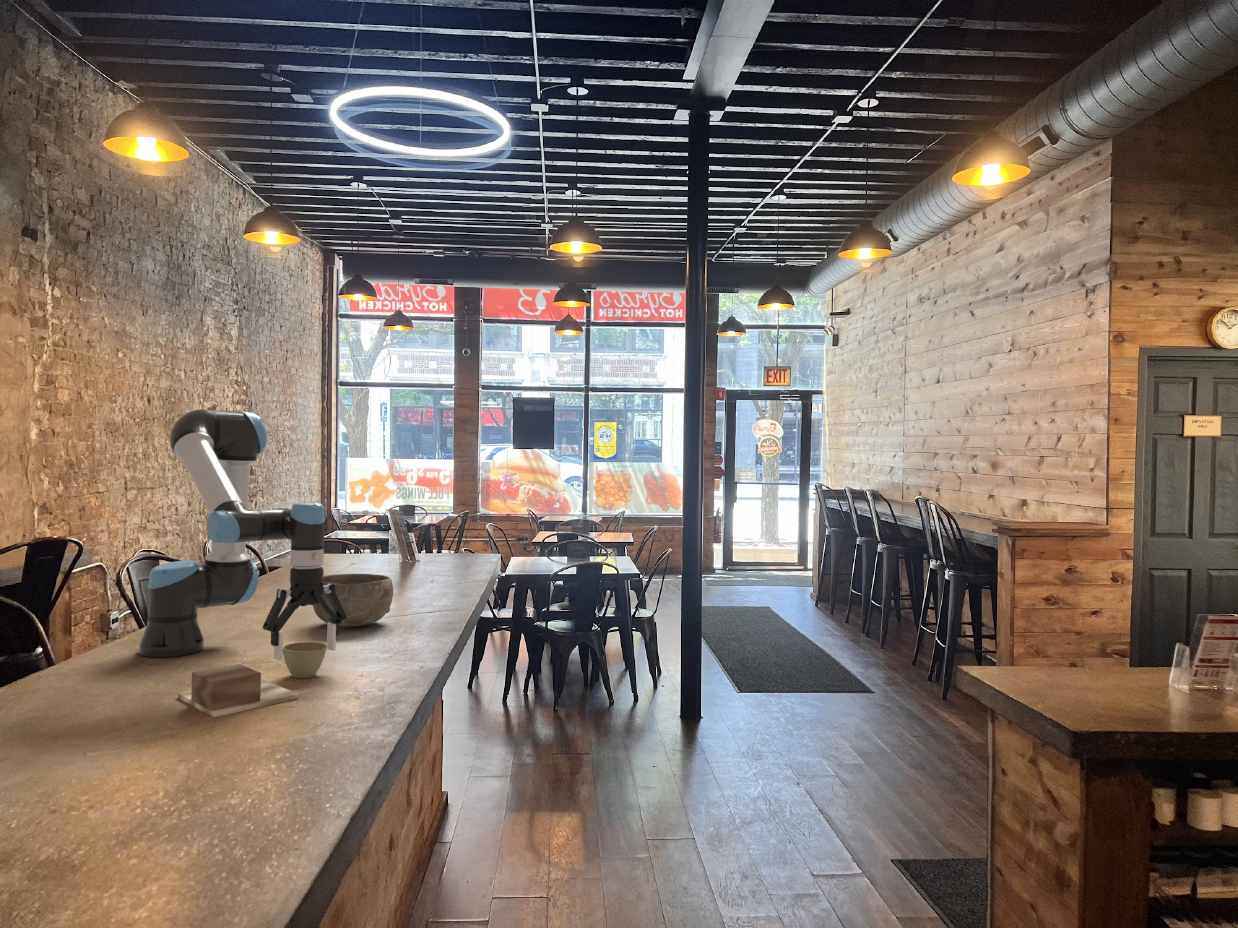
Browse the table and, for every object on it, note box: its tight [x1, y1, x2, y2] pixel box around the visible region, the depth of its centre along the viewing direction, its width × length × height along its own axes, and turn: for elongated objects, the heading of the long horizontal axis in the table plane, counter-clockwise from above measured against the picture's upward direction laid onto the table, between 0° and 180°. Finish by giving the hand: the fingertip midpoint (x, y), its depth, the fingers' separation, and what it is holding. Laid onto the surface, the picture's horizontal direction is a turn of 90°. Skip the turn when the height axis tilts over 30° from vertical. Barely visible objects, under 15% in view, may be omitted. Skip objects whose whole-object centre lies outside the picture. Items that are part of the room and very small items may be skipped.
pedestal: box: [191, 663, 262, 711], centre depth 170 cm, size 10×10×6 cm
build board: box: [177, 677, 299, 718], centre depth 176 cm, size 18×18×1 cm
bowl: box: [312, 573, 394, 628], centre depth 251 cm, size 24×24×15 cm
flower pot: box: [283, 641, 327, 679], centre depth 194 cm, size 10×10×7 cm
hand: (305, 654), depth 194 cm, fingers open, 13 cm apart
